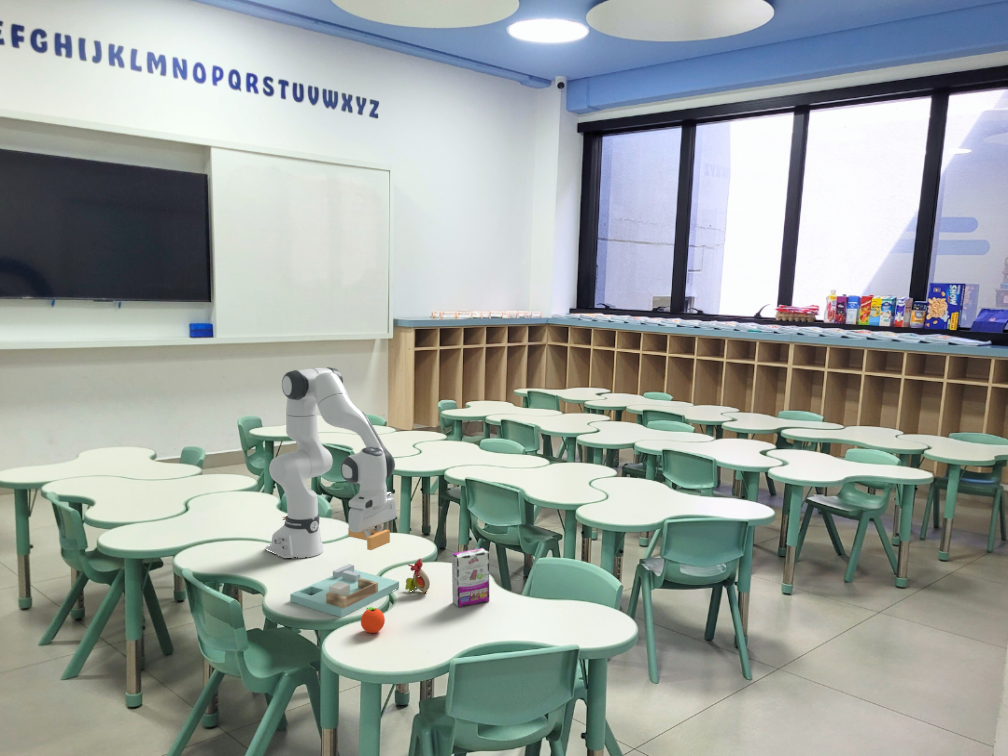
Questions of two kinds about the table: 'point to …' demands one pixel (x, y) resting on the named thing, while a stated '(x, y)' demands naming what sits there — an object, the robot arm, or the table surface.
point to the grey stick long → (350, 576)
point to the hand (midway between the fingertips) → (373, 538)
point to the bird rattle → (418, 578)
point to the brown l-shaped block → (353, 594)
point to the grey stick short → (342, 570)
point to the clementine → (372, 620)
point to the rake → (372, 538)
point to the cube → (340, 589)
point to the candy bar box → (470, 577)
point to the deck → (317, 593)
